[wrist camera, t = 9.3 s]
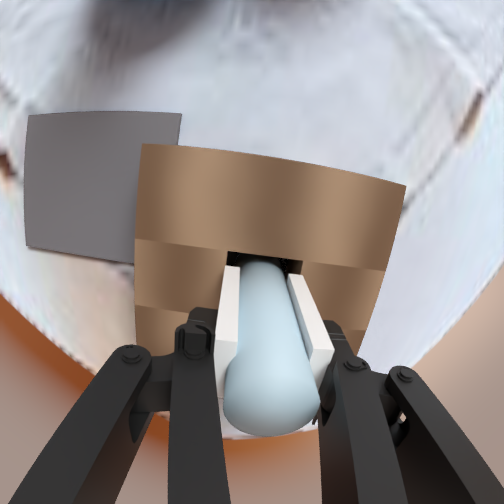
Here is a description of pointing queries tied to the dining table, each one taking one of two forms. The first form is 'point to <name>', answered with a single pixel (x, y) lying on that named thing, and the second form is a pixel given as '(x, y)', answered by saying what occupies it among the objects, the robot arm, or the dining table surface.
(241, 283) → the peg
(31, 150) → the mat
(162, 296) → the hole block
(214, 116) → the dining table surface
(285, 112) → the dining table surface
